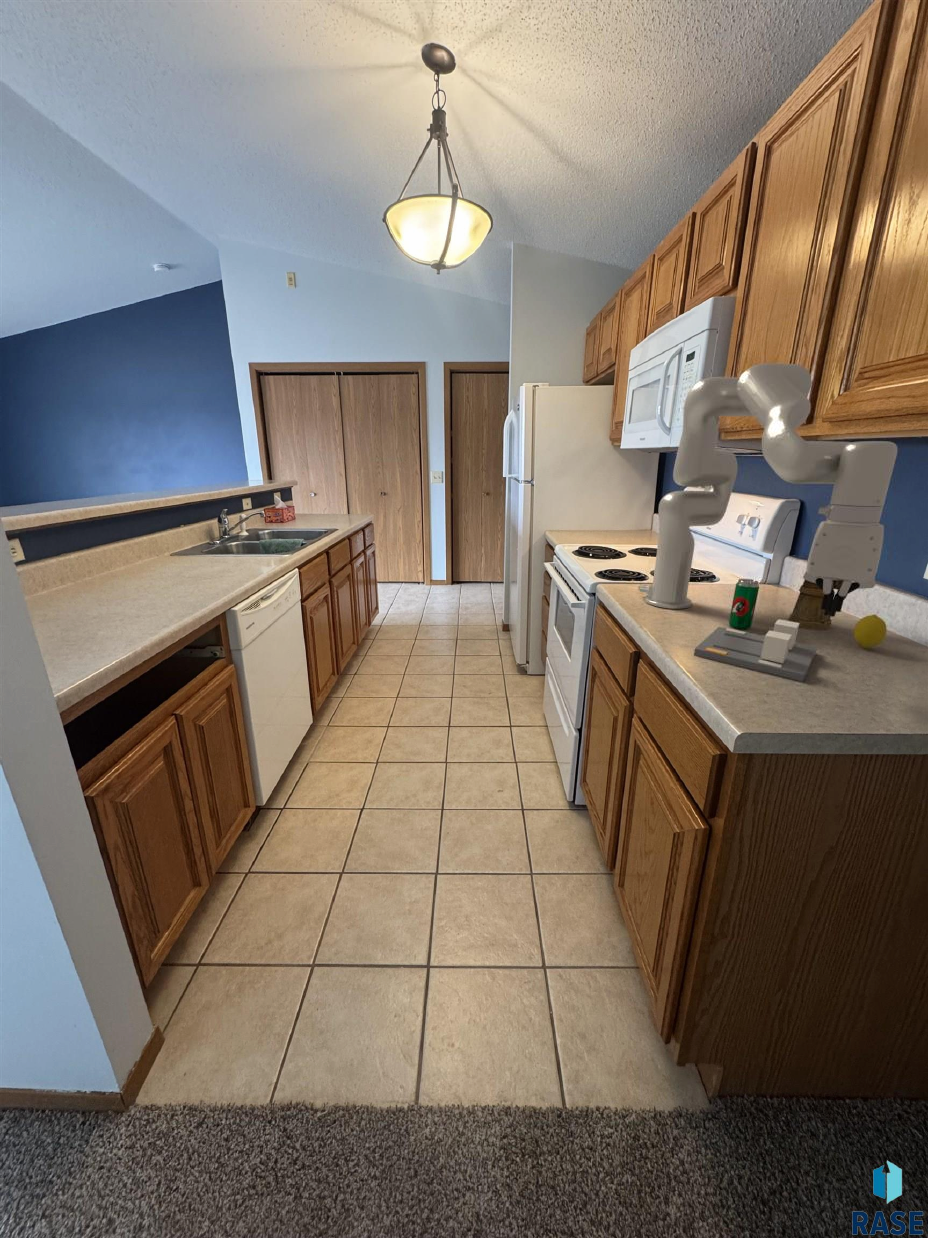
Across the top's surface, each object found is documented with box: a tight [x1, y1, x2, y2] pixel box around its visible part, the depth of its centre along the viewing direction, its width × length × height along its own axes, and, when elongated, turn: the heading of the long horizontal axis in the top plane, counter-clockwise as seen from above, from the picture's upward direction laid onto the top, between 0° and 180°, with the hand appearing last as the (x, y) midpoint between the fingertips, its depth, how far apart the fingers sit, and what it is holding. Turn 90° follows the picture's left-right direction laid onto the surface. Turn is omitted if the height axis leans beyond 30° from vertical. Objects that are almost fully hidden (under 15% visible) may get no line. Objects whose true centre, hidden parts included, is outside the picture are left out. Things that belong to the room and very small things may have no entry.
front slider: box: [761, 630, 792, 664], centre depth 100 cm, size 4×4×5 cm
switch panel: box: [693, 626, 818, 682], centre depth 107 cm, size 20×18×2 cm
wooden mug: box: [787, 579, 848, 631], centre depth 123 cm, size 9×14×18 cm, turn 69°
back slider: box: [772, 619, 800, 650], centre depth 107 cm, size 4×4×5 cm
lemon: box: [853, 614, 887, 649], centre depth 110 cm, size 6×6×8 cm
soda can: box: [728, 578, 760, 631], centre depth 123 cm, size 5×5×12 cm
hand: (829, 614), depth 93 cm, fingers closed
